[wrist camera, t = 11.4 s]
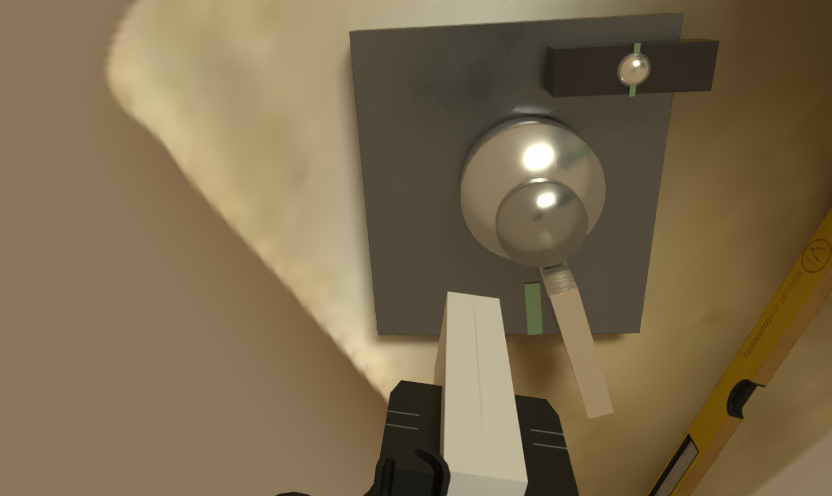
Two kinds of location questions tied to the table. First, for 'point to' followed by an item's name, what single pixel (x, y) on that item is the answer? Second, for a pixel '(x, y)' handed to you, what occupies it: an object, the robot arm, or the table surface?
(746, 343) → the spirit level
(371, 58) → the stand
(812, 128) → the table surface
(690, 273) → the table surface
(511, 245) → the silver ladle
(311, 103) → the table surface
